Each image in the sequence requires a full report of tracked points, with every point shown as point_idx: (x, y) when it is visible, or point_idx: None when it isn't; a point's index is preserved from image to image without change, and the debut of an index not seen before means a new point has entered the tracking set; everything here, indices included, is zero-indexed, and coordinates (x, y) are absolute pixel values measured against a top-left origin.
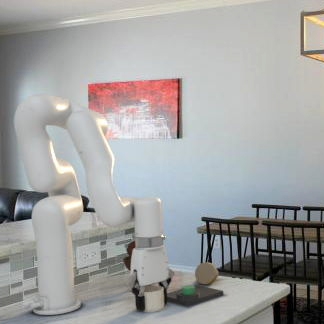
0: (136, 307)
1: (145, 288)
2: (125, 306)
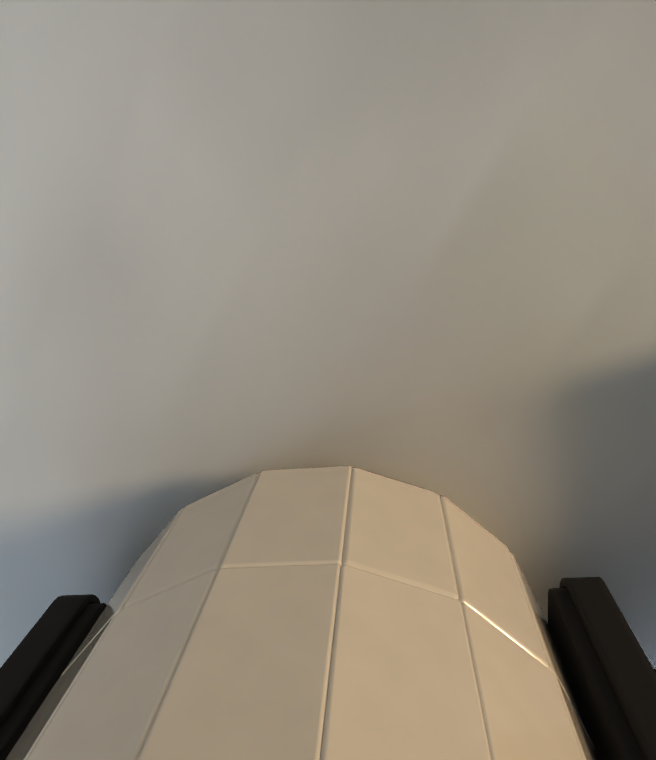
0: (52, 617)
1: (287, 755)
2: (57, 157)
